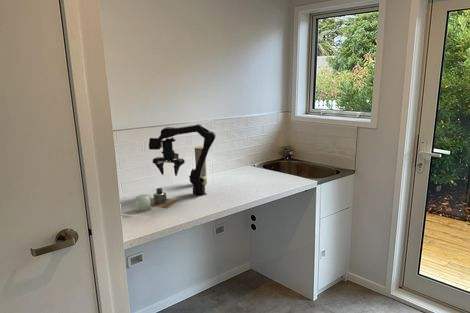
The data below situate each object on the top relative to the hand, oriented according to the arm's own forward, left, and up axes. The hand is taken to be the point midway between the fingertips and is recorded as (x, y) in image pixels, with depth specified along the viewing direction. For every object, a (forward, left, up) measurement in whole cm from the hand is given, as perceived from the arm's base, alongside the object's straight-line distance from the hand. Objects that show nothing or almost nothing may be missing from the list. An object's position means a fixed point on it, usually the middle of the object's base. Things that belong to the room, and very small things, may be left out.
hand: (169, 175), depth 211 cm
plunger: (-2, +14, -11) cm, 18 cm away
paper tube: (-6, -28, -13) cm, 31 cm away
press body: (-2, +14, -12) cm, 19 cm away
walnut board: (-2, +14, -13) cm, 19 cm away
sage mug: (0, +26, -13) cm, 29 cm away
